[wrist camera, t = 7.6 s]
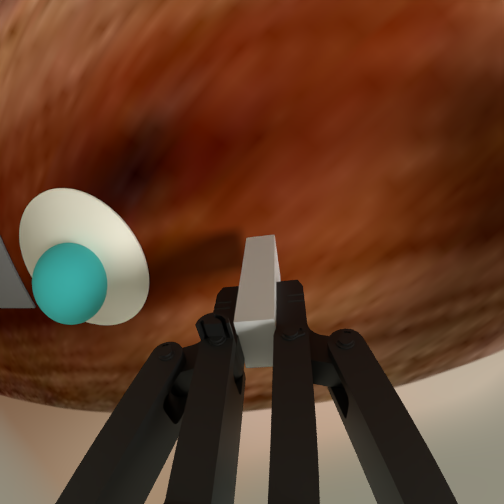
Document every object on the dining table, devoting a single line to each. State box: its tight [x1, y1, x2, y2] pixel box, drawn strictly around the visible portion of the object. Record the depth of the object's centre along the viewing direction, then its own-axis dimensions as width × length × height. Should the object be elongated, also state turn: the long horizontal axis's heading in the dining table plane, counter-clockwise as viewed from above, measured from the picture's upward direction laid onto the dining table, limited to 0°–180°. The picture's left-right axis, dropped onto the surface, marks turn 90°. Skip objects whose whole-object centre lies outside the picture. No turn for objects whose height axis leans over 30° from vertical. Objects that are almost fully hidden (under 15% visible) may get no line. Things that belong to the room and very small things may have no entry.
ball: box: [32, 243, 107, 325], centre depth 18 cm, size 6×6×6 cm
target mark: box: [19, 188, 149, 325], centre depth 21 cm, size 12×12×1 cm
